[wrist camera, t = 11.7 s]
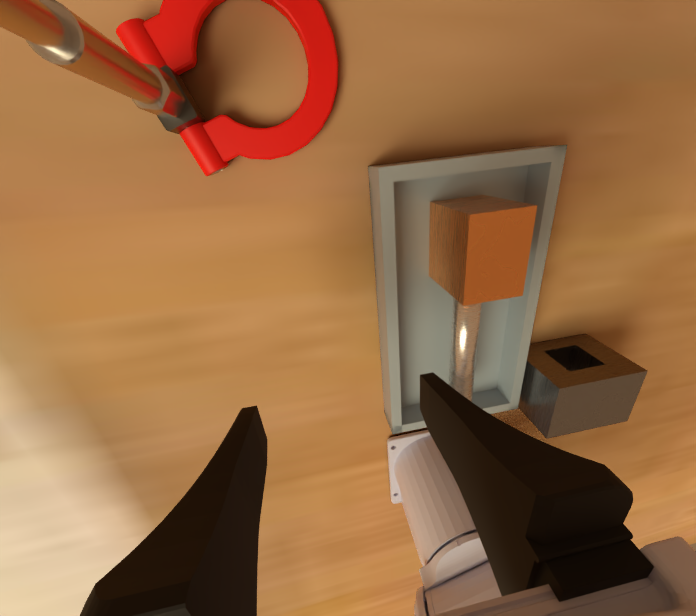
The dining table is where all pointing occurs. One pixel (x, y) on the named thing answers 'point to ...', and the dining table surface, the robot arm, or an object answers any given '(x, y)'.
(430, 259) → the hitch pin
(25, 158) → the dining table surface
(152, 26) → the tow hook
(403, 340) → the tray
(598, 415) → the block
